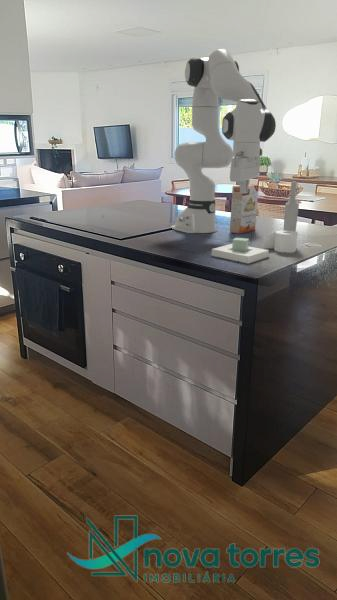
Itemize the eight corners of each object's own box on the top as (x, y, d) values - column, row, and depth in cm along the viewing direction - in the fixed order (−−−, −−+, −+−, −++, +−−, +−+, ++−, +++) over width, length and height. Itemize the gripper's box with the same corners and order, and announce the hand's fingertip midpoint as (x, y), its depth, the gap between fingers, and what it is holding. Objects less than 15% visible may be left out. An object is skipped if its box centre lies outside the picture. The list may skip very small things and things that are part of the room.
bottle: (289, 247, 176) (295, 182, 168) (278, 245, 180) (284, 181, 172) (297, 246, 179) (304, 181, 171) (287, 243, 183) (293, 180, 175)
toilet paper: (263, 248, 175) (264, 231, 173) (290, 247, 177) (291, 230, 175) (271, 253, 167) (273, 235, 165) (299, 252, 170) (301, 234, 167)
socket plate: (211, 255, 164) (211, 249, 163) (232, 249, 173) (232, 243, 172) (248, 263, 153) (248, 256, 153) (268, 256, 162) (268, 250, 161)
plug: (231, 255, 162) (232, 239, 160) (234, 253, 166) (235, 237, 164) (245, 257, 160) (246, 240, 158) (248, 254, 164) (249, 238, 162)
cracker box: (240, 234, 200) (243, 186, 193) (229, 232, 204) (231, 185, 197) (256, 230, 210) (259, 184, 203) (245, 228, 214) (247, 183, 207)
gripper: (244, 152, 141) (242, 197, 145) (264, 150, 158) (261, 190, 162) (226, 152, 143) (224, 196, 148) (246, 150, 160) (244, 189, 165)
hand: (243, 193), depth 155 cm, fingers closed
